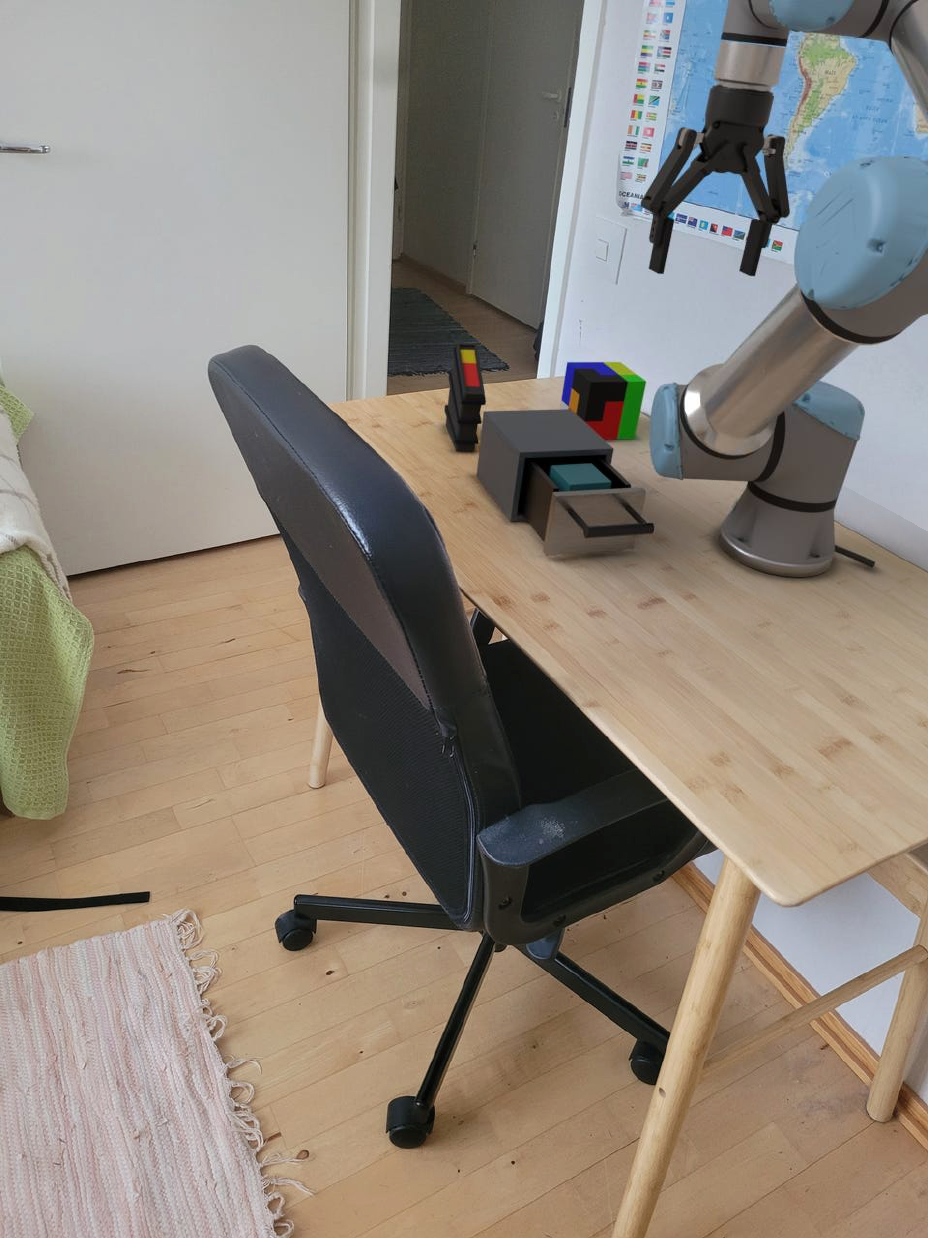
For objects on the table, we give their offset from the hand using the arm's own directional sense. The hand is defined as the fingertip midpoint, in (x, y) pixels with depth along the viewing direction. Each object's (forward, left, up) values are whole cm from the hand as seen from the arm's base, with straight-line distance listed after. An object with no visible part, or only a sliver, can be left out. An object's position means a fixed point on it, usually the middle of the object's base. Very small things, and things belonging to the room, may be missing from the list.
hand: (702, 272), depth 124 cm
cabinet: (+16, +7, -33) cm, 37 cm away
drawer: (+7, +19, -32) cm, 38 cm away
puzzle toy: (+13, -25, -33) cm, 43 cm away
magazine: (+32, -7, -33) cm, 46 cm away
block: (+9, +17, -31) cm, 36 cm away
